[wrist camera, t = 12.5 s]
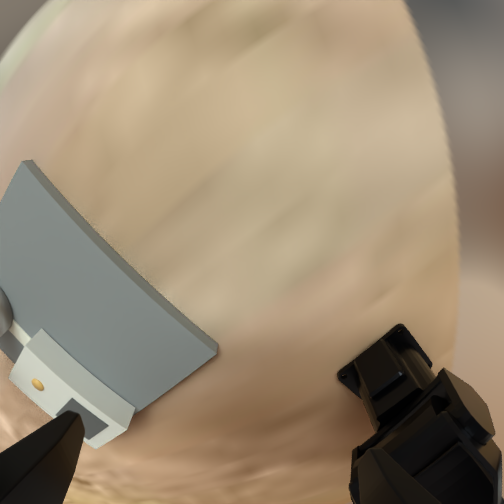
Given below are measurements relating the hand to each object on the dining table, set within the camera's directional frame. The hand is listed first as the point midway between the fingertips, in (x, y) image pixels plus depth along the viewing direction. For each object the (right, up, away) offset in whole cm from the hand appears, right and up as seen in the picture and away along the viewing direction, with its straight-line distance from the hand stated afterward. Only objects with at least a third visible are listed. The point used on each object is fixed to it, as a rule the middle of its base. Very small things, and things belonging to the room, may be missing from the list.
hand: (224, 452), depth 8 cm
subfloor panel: (-14, 0, +13) cm, 20 cm away
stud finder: (-14, -6, +14) cm, 21 cm away
